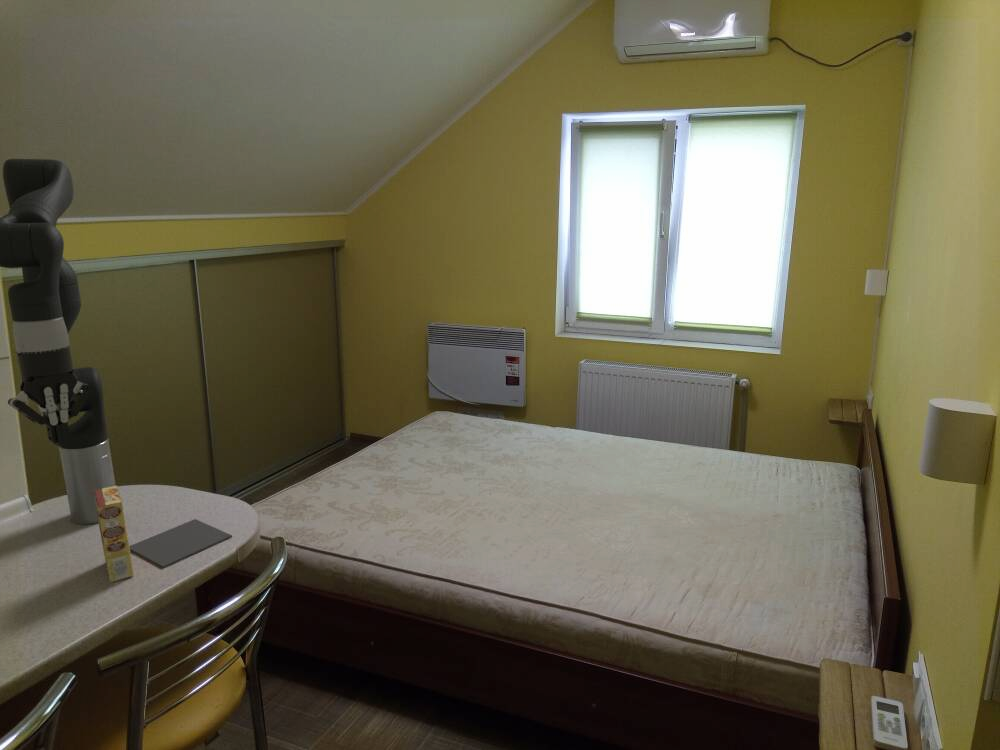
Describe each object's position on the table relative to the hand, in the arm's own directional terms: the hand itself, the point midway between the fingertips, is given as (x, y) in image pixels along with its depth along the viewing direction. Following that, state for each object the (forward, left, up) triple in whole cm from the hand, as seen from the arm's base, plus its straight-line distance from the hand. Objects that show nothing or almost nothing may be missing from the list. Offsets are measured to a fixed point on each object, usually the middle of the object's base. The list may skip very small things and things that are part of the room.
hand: (60, 443), depth 121 cm
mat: (0, +19, -27) cm, 33 cm away
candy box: (0, +6, -28) cm, 28 cm away
